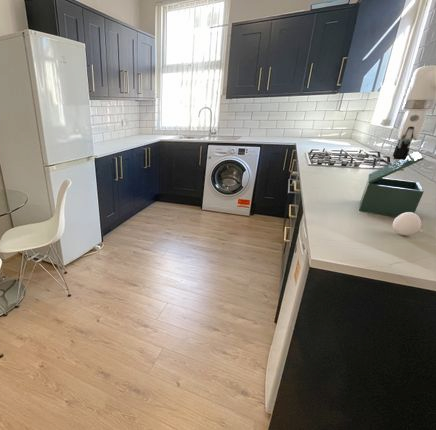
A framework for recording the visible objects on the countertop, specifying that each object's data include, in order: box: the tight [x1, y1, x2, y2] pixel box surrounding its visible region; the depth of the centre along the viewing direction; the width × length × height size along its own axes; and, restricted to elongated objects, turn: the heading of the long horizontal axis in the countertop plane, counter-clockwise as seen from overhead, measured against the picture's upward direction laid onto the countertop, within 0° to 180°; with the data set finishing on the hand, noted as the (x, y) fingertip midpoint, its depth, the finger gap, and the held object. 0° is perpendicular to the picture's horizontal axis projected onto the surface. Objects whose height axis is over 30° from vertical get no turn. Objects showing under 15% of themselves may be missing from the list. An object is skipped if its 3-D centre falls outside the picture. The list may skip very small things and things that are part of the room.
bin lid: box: [367, 151, 424, 184], centre depth 105 cm, size 15×16×5 cm
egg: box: [392, 212, 422, 236], centre depth 88 cm, size 6×6×8 cm
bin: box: [358, 177, 424, 218], centre depth 108 cm, size 15×16×11 cm
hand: (398, 157), depth 103 cm, fingers closed on bin lid, 6 cm apart
